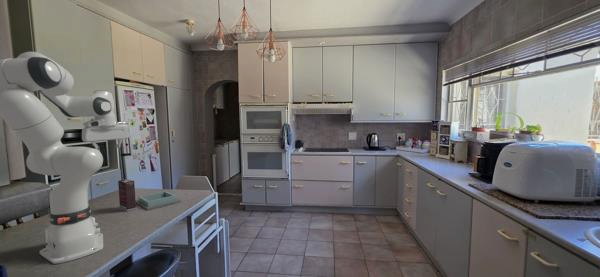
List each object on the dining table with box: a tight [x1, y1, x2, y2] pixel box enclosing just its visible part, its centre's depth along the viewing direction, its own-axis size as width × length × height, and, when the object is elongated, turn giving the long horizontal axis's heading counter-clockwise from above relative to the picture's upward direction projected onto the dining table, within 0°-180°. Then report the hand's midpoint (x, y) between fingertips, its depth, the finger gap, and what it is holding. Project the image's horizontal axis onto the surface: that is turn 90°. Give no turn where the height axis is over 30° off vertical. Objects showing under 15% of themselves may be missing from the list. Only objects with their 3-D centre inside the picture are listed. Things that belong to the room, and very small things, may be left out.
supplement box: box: [117, 178, 137, 212], centre depth 141 cm, size 9×5×16 cm, turn 58°
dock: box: [135, 190, 182, 211], centre depth 153 cm, size 22×18×4 cm
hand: (108, 148), depth 135 cm, fingers open, 8 cm apart
